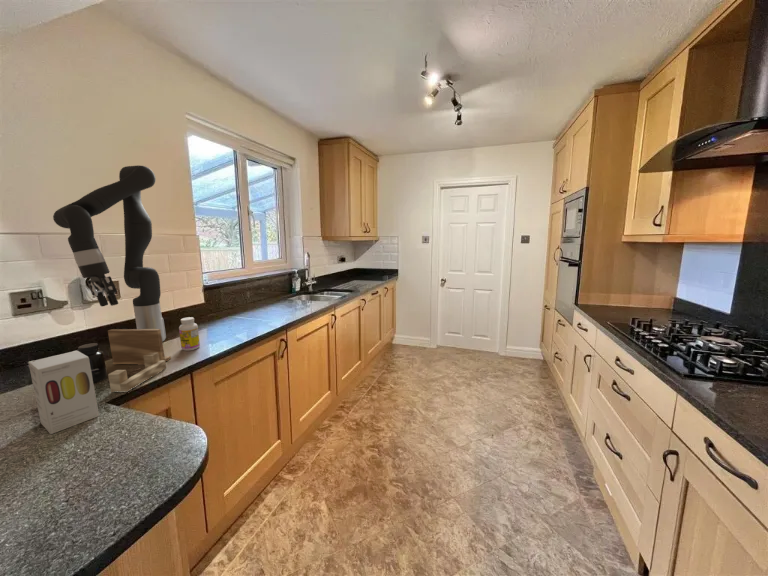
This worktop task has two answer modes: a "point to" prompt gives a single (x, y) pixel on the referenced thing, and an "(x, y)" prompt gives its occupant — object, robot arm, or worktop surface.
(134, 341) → the oak screen
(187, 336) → the supplement bottle
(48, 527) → the worktop surface
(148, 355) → the stop bay
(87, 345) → the supplement bottle
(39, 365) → the supplement box
